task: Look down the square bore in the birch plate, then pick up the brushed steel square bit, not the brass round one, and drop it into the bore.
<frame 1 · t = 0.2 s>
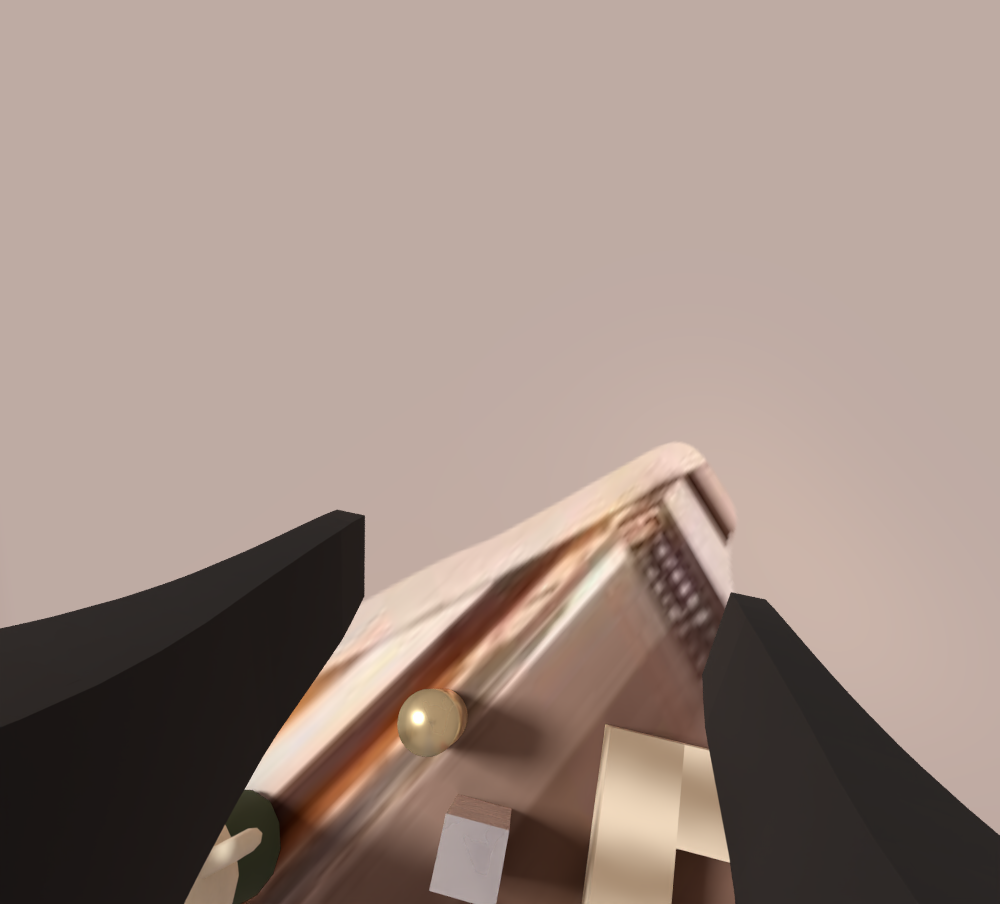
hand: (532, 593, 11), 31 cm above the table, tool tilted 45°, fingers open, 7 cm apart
character mug: (239, 842, 36), on the table
socket plate: (701, 893, 34), on the table
round bit: (441, 716, 38), on the table
square bit: (478, 833, 36), on the table
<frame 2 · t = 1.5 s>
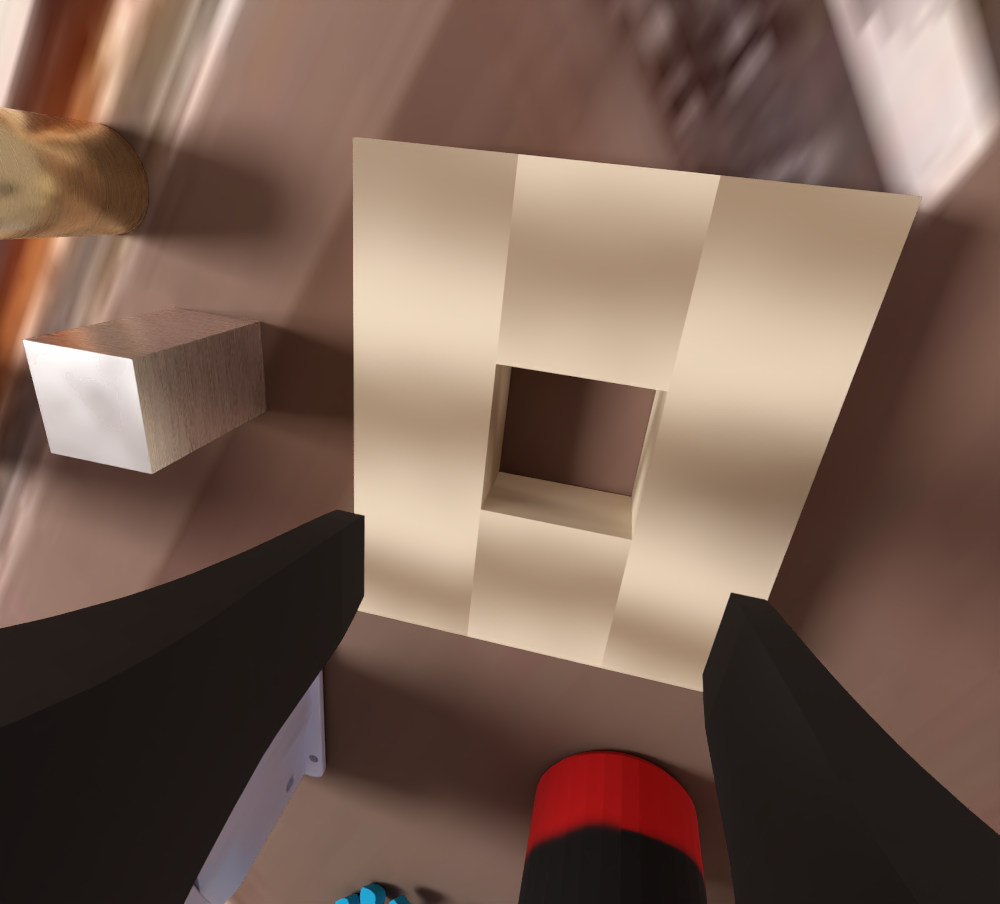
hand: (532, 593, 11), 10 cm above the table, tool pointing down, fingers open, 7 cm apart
socket plate: (574, 422, 20), on the table
soda can: (614, 798, 27), on the table
round bit: (103, 180, 20), on the table
square bit: (221, 360, 22), on the table
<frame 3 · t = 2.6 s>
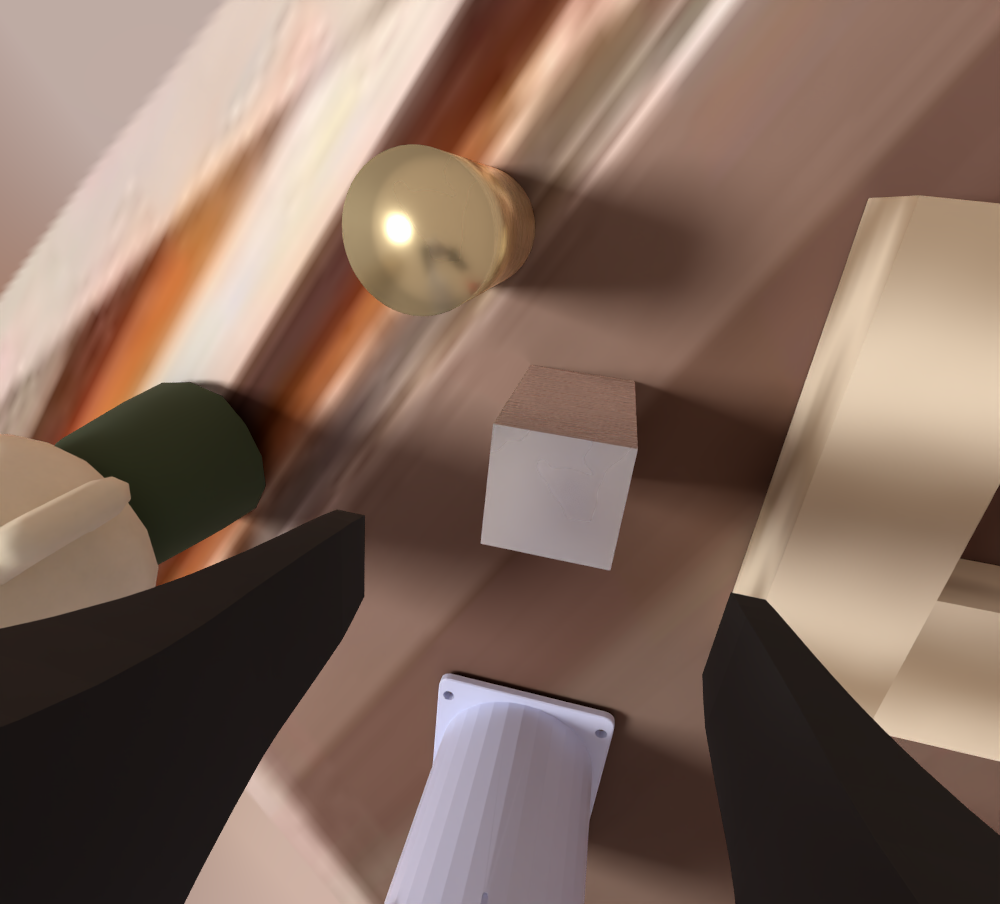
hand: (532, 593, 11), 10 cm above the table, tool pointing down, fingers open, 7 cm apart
character mug: (212, 447, 24), on the table
round bit: (479, 228, 18), on the table
square bit: (573, 421, 20), on the table
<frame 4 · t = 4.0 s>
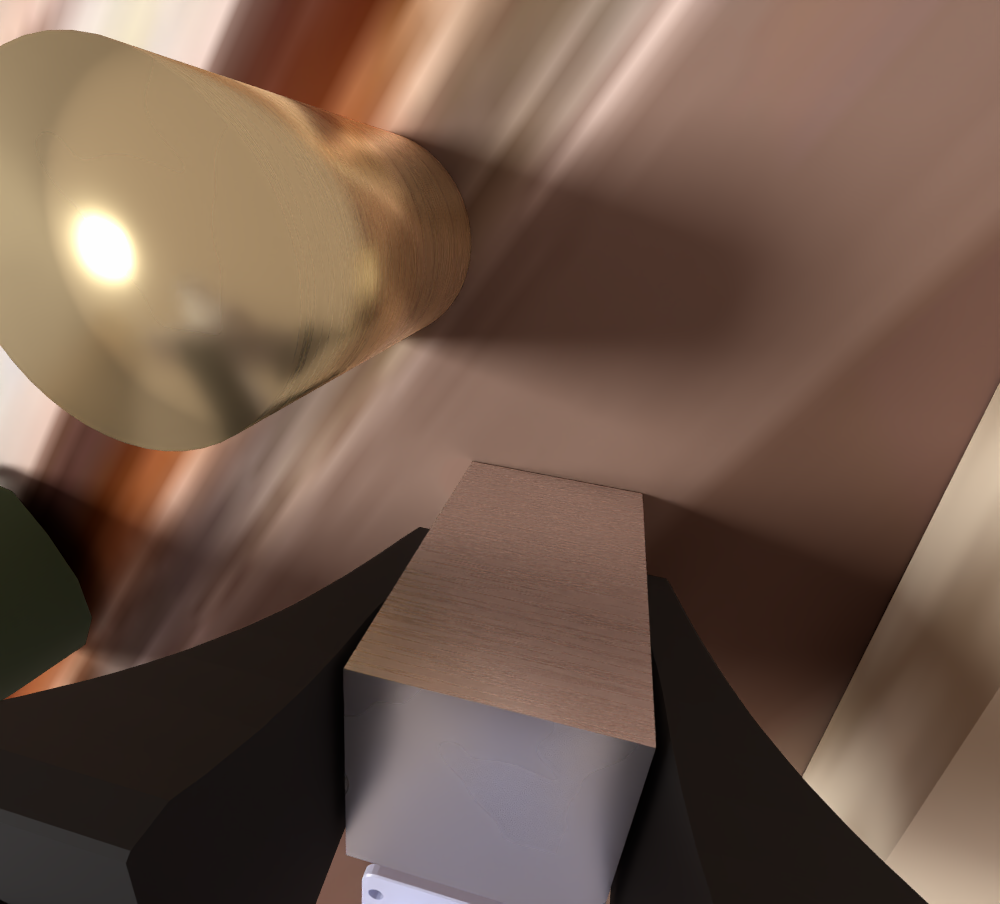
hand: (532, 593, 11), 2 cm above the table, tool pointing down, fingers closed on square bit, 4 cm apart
character mug: (24, 553, 16), on the table
round bit: (378, 239, 10), on the table
square bit: (543, 548, 12), on the table, touching gripper
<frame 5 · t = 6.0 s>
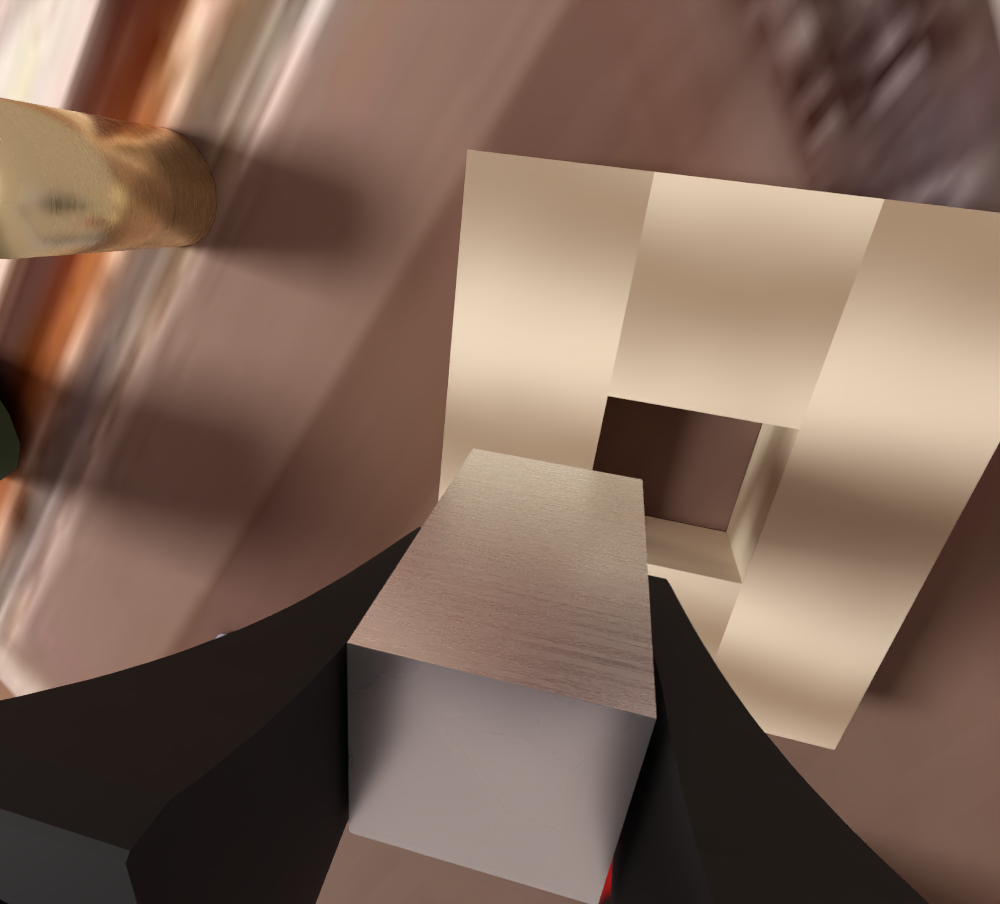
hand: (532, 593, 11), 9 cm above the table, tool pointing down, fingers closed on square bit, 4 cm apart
socket plate: (670, 453, 19), on the table
round bit: (167, 188, 19), on the table
square bit: (544, 535, 12), point 7 cm above the table, touching gripper
when the fingers open (3 cm above the table, at t = 8.0 s): square bit drops 2 cm, resting in socket plate.
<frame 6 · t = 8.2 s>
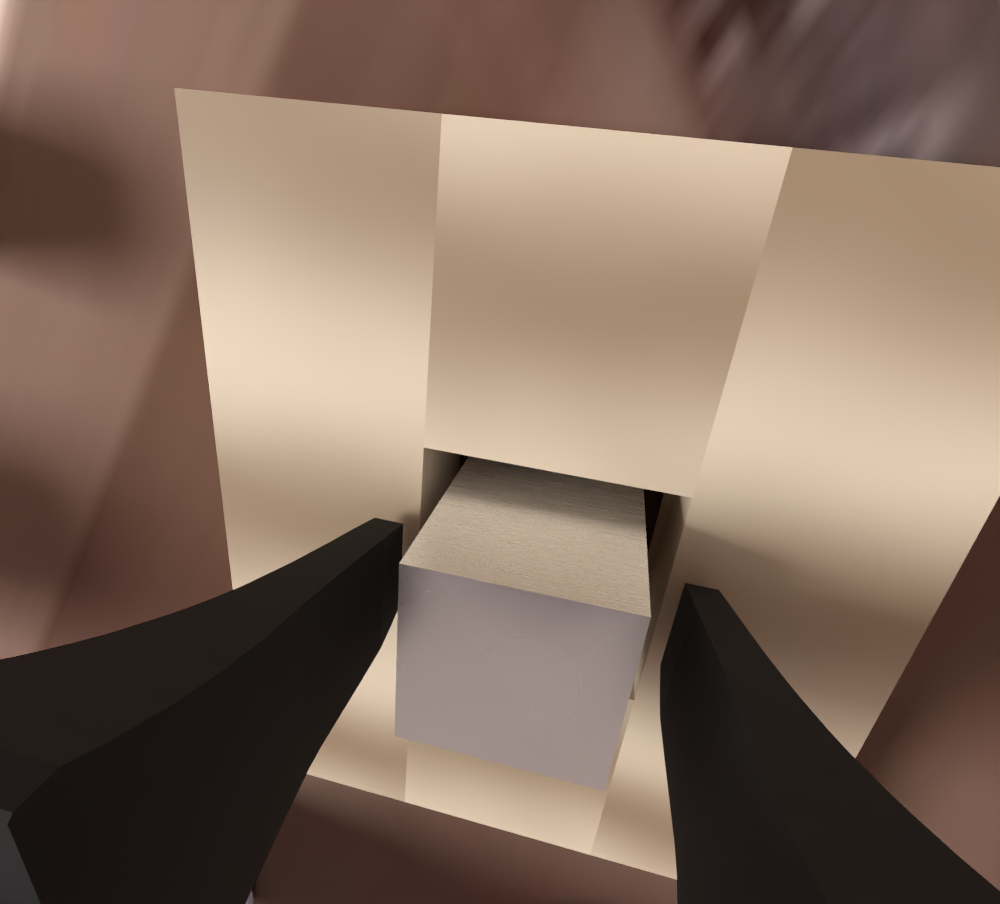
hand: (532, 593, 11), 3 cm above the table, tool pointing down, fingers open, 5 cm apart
socket plate: (553, 510, 14), on the table
square bit: (554, 501, 14), resting in socket plate
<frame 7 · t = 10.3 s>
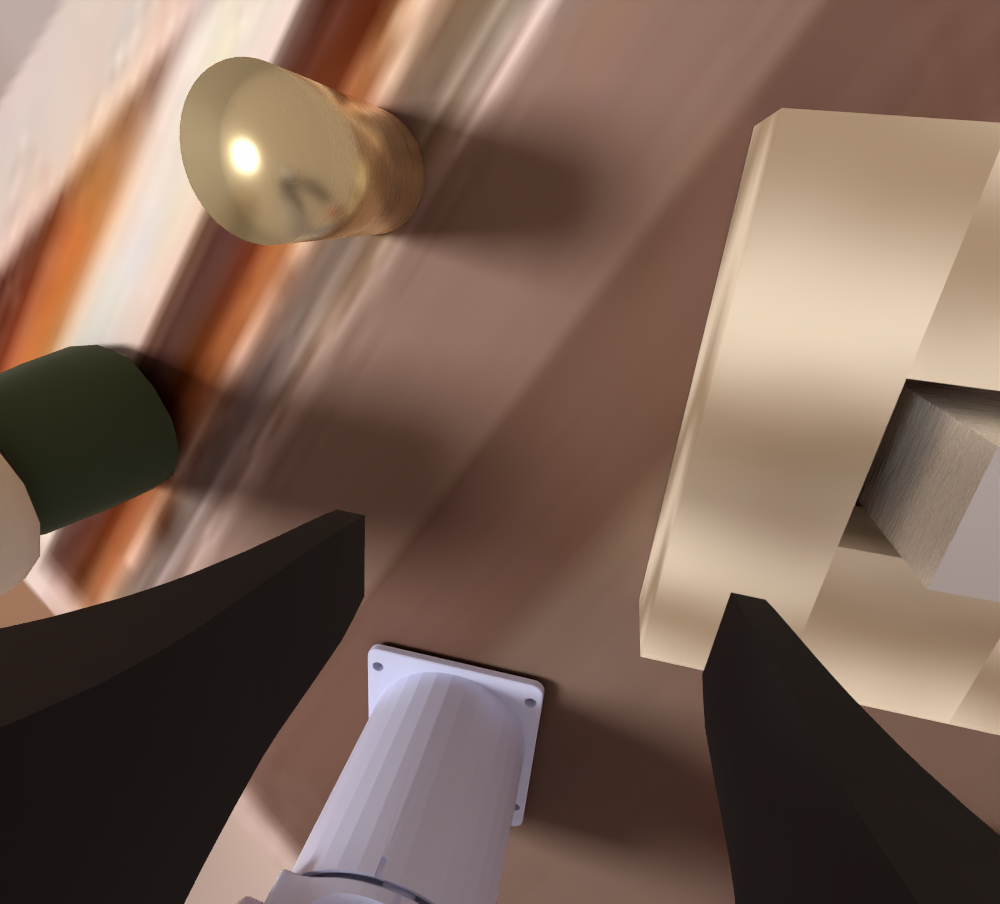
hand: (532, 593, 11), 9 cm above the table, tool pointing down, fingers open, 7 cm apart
character mug: (128, 414, 23), on the table
socket plate: (918, 441, 17), on the table
round bit: (369, 172, 17), on the table
square bit: (920, 434, 17), resting in socket plate
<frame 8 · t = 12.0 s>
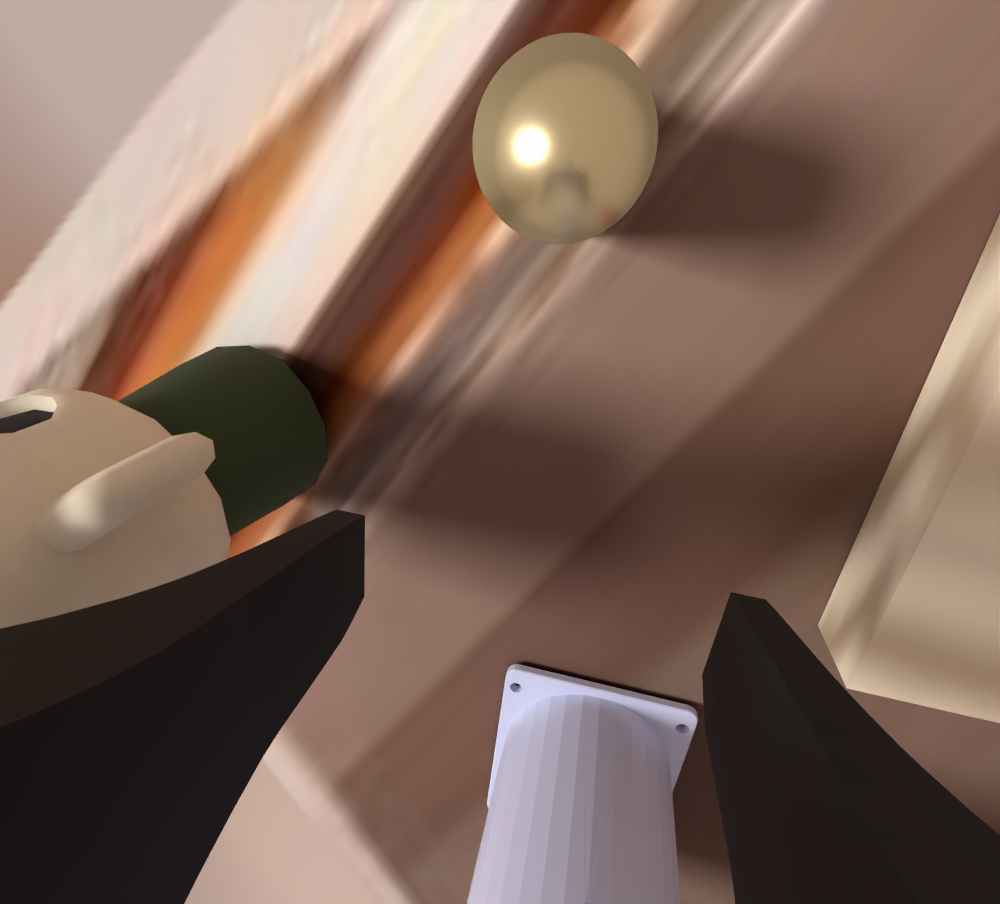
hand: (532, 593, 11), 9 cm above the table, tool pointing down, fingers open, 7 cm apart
character mug: (266, 419, 22), on the table
round bit: (583, 167, 16), on the table
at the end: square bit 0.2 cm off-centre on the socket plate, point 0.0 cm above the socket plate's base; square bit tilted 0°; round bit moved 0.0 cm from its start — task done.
